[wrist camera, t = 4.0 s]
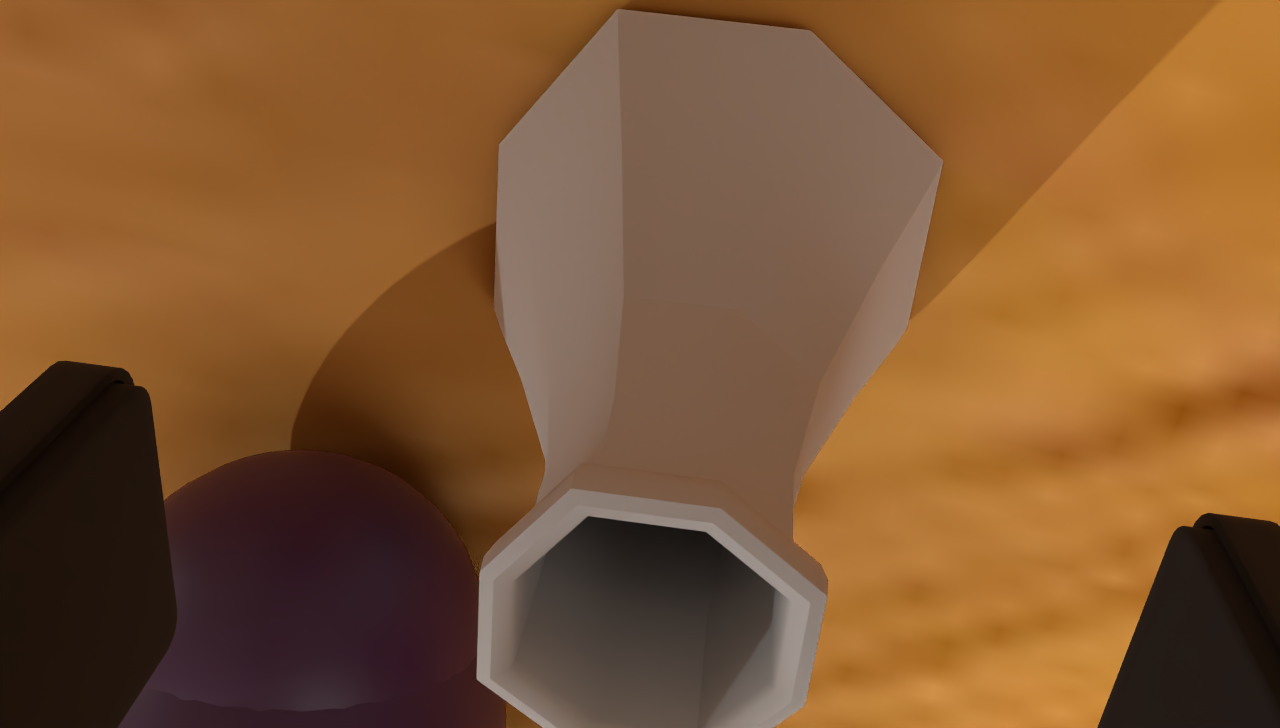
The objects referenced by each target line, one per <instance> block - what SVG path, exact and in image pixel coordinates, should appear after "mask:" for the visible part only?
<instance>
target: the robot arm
mask: <svg viewBox="0 0 1280 728" xmlns="http://www.w3.org/2000/svg"><path fill="white" fill-rule="evenodd" d="M176 624H177V603H176V596H175V588H174V580H173V572H172V564H171V556H170V548H169V540H168V532H167V524H166V516H165V509H164V501H163V493H162V485H161V477H160V469H159V461H158V453H157V445H156V437H155V429H154V422H153V414H152V406H151V400H150V396H149V394H148V392H147V390H146V389H145V388H143V387H141V386H134V383H133V379H132V378H131V376H130V374H129V372H127V371H126V370H124V369H123V368H116V367H109V366H101V365H94V364H86V363H79V362H71V361H58V362H56V363H55V364H53V365H52V366H50V367H49V368H48V369H47V370H46V371H45V372H44V373H42V374H41V375H40V376H39V377H38V378H37V379H36V380H35V381H34V382H32V383H31V384H30V385H29V386H28V387H27V388H26V389H25V390H24V391H22V392H21V393H20V394H19V395H18V396H17V397H16V398H15V399H14V400H13V401H11V402H10V403H9V404H8V405H7V406H6V407H5V408H4V409H3V410H1V411H0V728H118V726H119V725H120V723H121V722H122V720H123V719H124V717H125V716H126V714H127V713H128V711H129V709H130V708H131V706H132V705H133V703H134V702H135V700H136V699H137V697H138V696H139V694H140V692H141V691H142V689H143V688H144V686H145V685H146V683H147V682H148V680H149V679H150V677H151V676H152V674H153V672H154V671H155V669H156V668H157V666H158V665H159V663H160V662H161V660H162V659H163V657H164V655H165V654H166V652H167V651H168V649H169V647H170V645H171V642H172V640H173V637H174V633H175V629H176ZM1098 728H1280V527H1279V525H1278V524H1277V523H1274V522H1271V521H1265V520H1258V519H1250V518H1243V517H1235V516H1228V515H1220V514H1213V513H1207V514H1204V515H1202V516H1201V517H1200V518H1199V519H1198V520H1197V521H1196V522H1195V524H1194V526H1193V527H1187V526H1182V527H1179V528H1178V529H1177V530H1176V531H1175V532H1174V533H1173V535H1172V537H1171V539H1170V541H1169V544H1168V547H1167V549H1166V552H1165V554H1164V557H1163V559H1162V562H1161V565H1160V567H1159V570H1158V572H1157V575H1156V578H1155V580H1154V583H1153V585H1152V588H1151V590H1150V593H1149V596H1148V598H1147V601H1146V603H1145V606H1144V609H1143V611H1142V614H1141V616H1140V619H1139V622H1138V624H1137V627H1136V629H1135V632H1134V634H1133V637H1132V640H1131V642H1130V645H1129V647H1128V650H1127V653H1126V655H1125V658H1124V660H1123V663H1122V665H1121V668H1120V671H1119V673H1118V676H1117V678H1116V681H1115V684H1114V686H1113V689H1112V691H1111V694H1110V697H1109V699H1108V702H1107V704H1106V707H1105V709H1104V712H1103V715H1102V717H1101V720H1100V722H1099V725H1098Z"/></svg>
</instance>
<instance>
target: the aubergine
mask: <svg viewBox="0 0 1280 728" xmlns="http://www.w3.org/2000/svg"><path fill="white" fill-rule="evenodd" d="M164 509H165V516H166V524H167V532H168V540H169V548H170V556H171V564H172V572H173V580H174V588H175V596H176V603H177V624H176V629H175V633H174V637H173V640H172V642H171V645H170V647H169V649H168V651H167V652H166V654H165V655H164V657H163V659H162V660H161V662H160V663H159V665H158V666H157V668H156V669H155V671H154V672H153V674H152V676H151V677H150V679H149V680H148V682H147V683H146V685H145V686H144V688H143V689H142V691H141V692H140V694H139V696H138V697H137V699H136V700H135V702H134V703H133V705H132V706H131V708H130V709H129V711H128V713H127V714H126V716H125V717H124V719H123V720H122V722H121V723H120V725H119V726H118V728H506V701H505V700H504V699H503V698H501V697H500V696H499V695H497V694H496V693H494V692H493V691H492V690H490V689H489V688H488V687H486V686H485V685H483V684H482V683H481V682H479V681H478V680H477V644H478V610H479V581H478V578H477V575H476V573H475V570H474V567H473V564H472V562H471V560H470V557H469V555H468V553H467V550H466V548H465V546H464V543H463V542H462V540H461V539H460V538H459V536H458V535H457V533H456V532H455V530H454V529H453V528H452V526H451V525H450V523H449V522H448V521H447V519H446V518H445V517H444V516H443V514H442V513H441V512H440V511H439V509H438V508H437V507H436V506H435V505H434V504H433V503H432V502H431V501H429V500H428V499H427V498H426V497H424V496H423V495H422V494H421V493H419V492H418V491H417V490H416V489H414V488H413V487H412V486H411V485H409V484H408V483H407V482H405V481H404V480H403V479H402V478H400V477H398V476H396V475H395V474H393V473H391V472H389V471H387V470H385V469H383V468H381V467H378V466H375V465H372V464H370V463H367V462H364V461H361V460H358V459H355V458H352V457H349V456H346V455H342V454H337V453H332V452H326V451H314V450H284V451H276V452H268V453H262V454H258V455H254V456H249V457H245V458H242V459H239V460H236V461H233V462H230V463H228V464H225V465H223V466H221V467H219V468H217V469H215V470H213V471H211V472H209V473H207V474H205V475H203V476H201V477H199V478H197V479H195V480H193V481H191V482H189V483H187V484H186V485H185V486H183V487H182V488H180V489H179V490H177V491H176V492H175V493H173V494H172V495H170V496H169V497H168V498H167V499H166V500H165V501H164Z"/></svg>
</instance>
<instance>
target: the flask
mask: <svg viewBox="0 0 1280 728" xmlns="http://www.w3.org/2000/svg"><path fill="white" fill-rule="evenodd" d="M942 165H943V160H942V159H941V158H940V157H939V156H938V155H937V154H936V153H935V152H934V151H933V150H932V149H931V148H930V147H929V146H928V145H927V144H926V143H925V142H924V141H923V140H922V139H921V138H920V137H919V136H918V135H917V134H916V133H915V132H914V131H913V130H912V129H911V128H910V127H909V126H908V125H907V124H906V123H905V122H903V121H902V120H901V119H900V118H899V117H898V116H897V115H896V114H895V113H894V112H893V111H892V110H891V109H890V108H889V107H888V106H887V105H886V104H885V103H884V102H883V101H882V100H881V99H880V98H879V97H878V96H877V95H876V94H875V93H874V92H873V91H872V90H871V89H870V88H869V87H868V86H867V85H866V84H865V83H864V82H863V81H862V80H861V79H860V78H859V77H858V76H857V75H856V74H855V73H854V72H853V71H852V70H851V69H850V68H849V67H848V66H847V65H846V64H845V63H844V62H843V61H841V60H840V59H839V58H838V57H837V56H836V55H835V54H834V53H833V52H832V51H831V50H830V49H829V48H828V47H827V46H826V45H825V44H824V43H823V42H822V41H821V40H820V39H819V38H818V37H817V36H816V35H815V34H814V33H813V32H812V31H811V30H803V29H794V28H785V27H776V26H767V25H758V24H749V23H740V22H731V21H722V20H713V19H704V18H695V17H687V16H678V15H669V14H660V13H651V12H642V11H633V10H624V9H617V10H616V12H615V13H614V14H613V15H612V16H611V17H610V18H609V19H608V21H607V22H606V23H605V24H604V25H603V26H602V27H601V29H600V30H599V31H598V32H597V33H596V34H595V35H594V37H593V38H592V39H591V40H590V41H589V42H588V43H587V45H586V46H585V47H584V48H583V49H582V50H581V51H580V53H579V54H578V55H577V56H576V57H575V58H574V59H573V61H572V62H571V63H570V64H569V65H568V66H567V67H566V68H565V70H564V71H563V72H562V73H561V74H560V75H559V76H558V78H557V79H556V80H555V81H554V82H553V83H552V84H551V86H550V87H549V88H548V89H547V90H546V91H545V92H544V94H543V95H542V96H541V97H540V98H539V99H538V100H537V102H536V103H535V104H534V105H533V106H532V107H531V108H530V110H529V111H528V112H527V113H526V114H525V115H524V116H523V118H522V119H521V120H520V121H519V122H518V123H517V124H516V125H515V127H514V128H513V129H512V130H511V131H510V132H509V133H508V135H507V136H506V137H505V138H504V139H503V140H502V141H501V143H500V144H499V157H498V189H497V220H496V251H495V283H494V310H495V313H496V317H497V320H498V323H499V326H500V329H501V331H502V334H503V336H504V339H505V341H506V344H507V346H508V349H509V351H510V353H511V356H512V358H513V361H514V363H515V366H516V368H517V371H518V373H519V375H520V378H521V381H522V384H523V387H524V391H525V394H526V398H527V401H528V404H529V408H530V411H531V414H532V418H533V421H534V424H535V428H536V431H537V435H538V438H539V441H540V445H541V448H542V451H543V455H544V458H545V473H544V476H543V479H542V483H541V486H540V490H539V493H538V496H537V500H536V503H535V506H534V507H533V508H532V509H531V510H530V511H529V512H528V513H527V514H525V515H524V516H523V517H522V518H521V519H520V520H519V521H518V522H517V523H516V524H515V525H513V526H512V527H511V528H510V529H509V530H508V531H507V532H506V533H505V534H504V535H503V536H502V537H500V538H499V539H498V540H497V541H496V542H495V543H494V544H493V546H492V547H491V548H490V549H489V550H488V552H487V553H486V554H485V555H484V557H483V561H482V565H481V568H480V575H479V610H478V644H477V680H478V681H479V682H481V683H482V684H483V685H485V686H486V687H488V688H489V689H490V690H492V691H493V692H494V693H496V694H497V695H499V696H500V697H501V698H503V699H504V700H505V701H507V702H508V703H509V704H511V705H512V706H514V707H515V708H516V709H518V710H519V711H520V712H522V713H523V714H525V715H526V716H527V717H529V718H530V719H531V720H533V721H534V722H536V723H537V724H538V725H540V726H541V727H542V728H774V727H775V726H777V725H778V724H780V723H781V722H782V721H784V720H785V719H787V718H788V717H789V716H791V715H792V714H794V713H795V712H797V711H798V710H799V709H801V708H802V707H804V706H805V703H806V698H807V693H808V689H809V684H810V679H811V674H812V669H813V664H814V659H815V654H816V650H817V645H818V640H819V635H820V630H821V625H822V620H823V615H824V610H825V606H826V601H827V594H828V579H827V576H826V574H825V572H824V570H823V568H822V566H821V564H820V563H819V562H817V561H816V560H815V559H814V558H813V557H811V556H810V555H809V554H808V553H807V552H805V551H804V550H803V549H802V548H801V547H799V546H798V545H797V544H796V543H795V542H794V540H793V509H794V506H795V502H796V499H797V495H798V492H799V489H800V485H801V482H802V479H803V476H804V474H805V473H806V471H807V470H808V468H809V467H810V465H811V464H812V462H813V461H814V459H815V458H816V456H817V454H818V453H819V451H820V450H821V448H822V447H823V445H824V444H825V442H826V441H827V439H828V438H829V436H830V435H831V433H832V432H833V430H834V429H835V427H836V426H837V424H838V422H839V421H840V419H841V418H842V416H843V415H844V413H845V412H846V410H847V409H848V407H849V406H850V404H851V403H852V401H853V400H854V398H855V397H856V395H857V394H858V393H859V392H860V390H861V389H862V388H863V387H864V385H865V384H866V383H867V382H868V380H869V379H870V378H871V376H872V375H873V374H874V373H875V371H876V370H877V369H878V368H879V366H880V365H881V364H882V363H883V361H884V360H885V359H886V357H887V356H888V355H889V354H890V352H891V351H892V350H893V349H894V347H895V346H896V344H897V343H898V341H899V340H900V338H901V337H902V335H903V334H904V332H905V331H906V329H907V327H908V323H909V318H910V313H911V309H912V304H913V299H914V295H915V290H916V286H917V281H918V276H919V272H920V267H921V262H922V258H923V253H924V249H925V244H926V239H927V235H928V230H929V225H930V221H931V216H932V211H933V207H934V202H935V198H936V193H937V188H938V184H939V179H940V174H941V170H942Z"/></svg>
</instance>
